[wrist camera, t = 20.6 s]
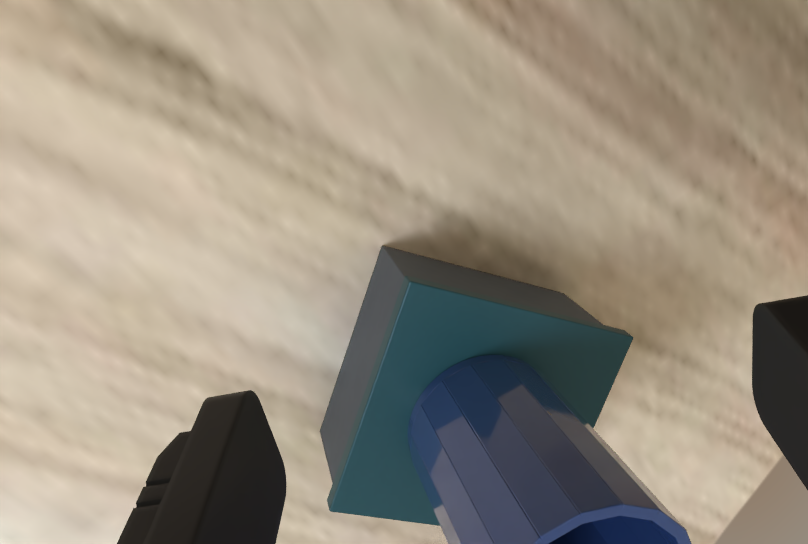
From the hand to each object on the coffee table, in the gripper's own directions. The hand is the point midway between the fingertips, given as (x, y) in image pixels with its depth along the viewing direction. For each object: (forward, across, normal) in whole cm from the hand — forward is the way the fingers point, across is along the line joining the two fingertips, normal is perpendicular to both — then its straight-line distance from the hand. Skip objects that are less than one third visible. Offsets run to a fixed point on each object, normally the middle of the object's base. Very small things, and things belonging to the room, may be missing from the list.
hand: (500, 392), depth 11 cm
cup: (+14, +1, +13) cm, 19 cm away
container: (+20, +3, +13) cm, 24 cm away
